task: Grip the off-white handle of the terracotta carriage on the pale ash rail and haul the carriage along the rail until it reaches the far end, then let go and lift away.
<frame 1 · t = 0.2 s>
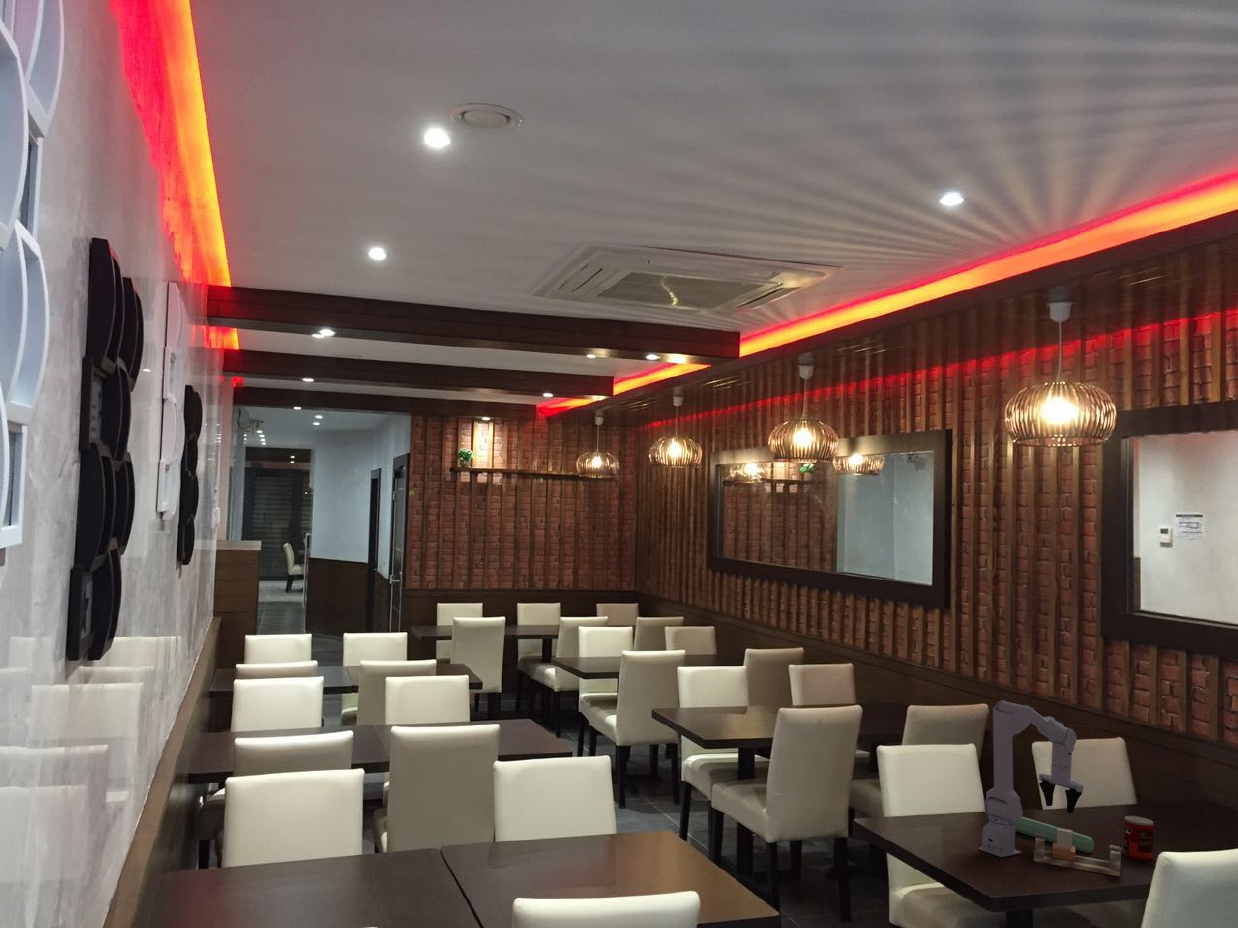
hand: (1059, 809, 319), 10 cm above the table, tool pointing down, fingers open, 7 cm apart
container: (1052, 842, 318), on the table
carriage: (1064, 843, 298), point 5 cm above the table, slide at -1.0 cm
rail: (1067, 862, 297), on the table
canned food: (1137, 856, 308), on the table
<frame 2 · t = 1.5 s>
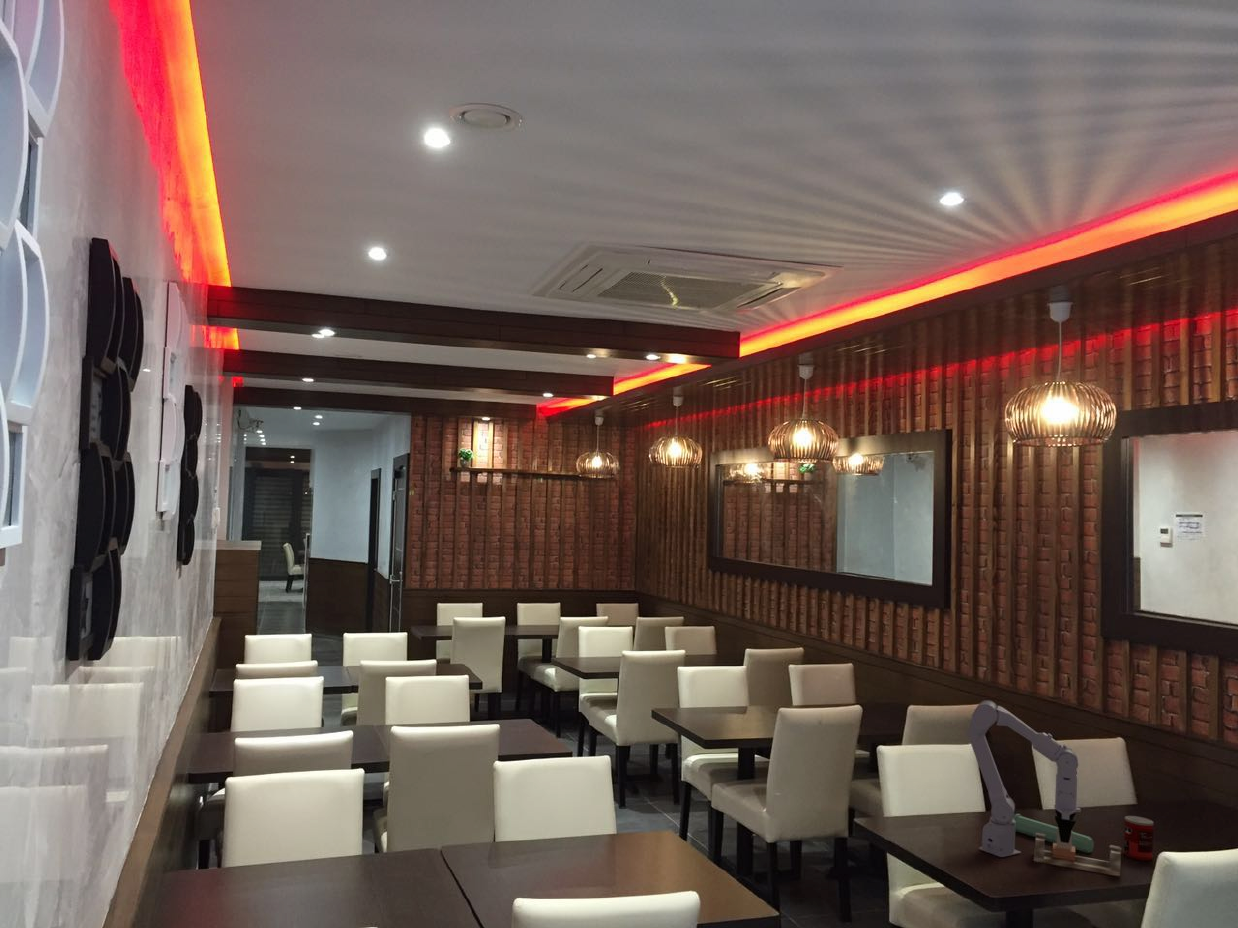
hand: (1064, 838, 298), 7 cm above the table, tool pointing down, fingers open, 7 cm apart
nothing on the table moved.
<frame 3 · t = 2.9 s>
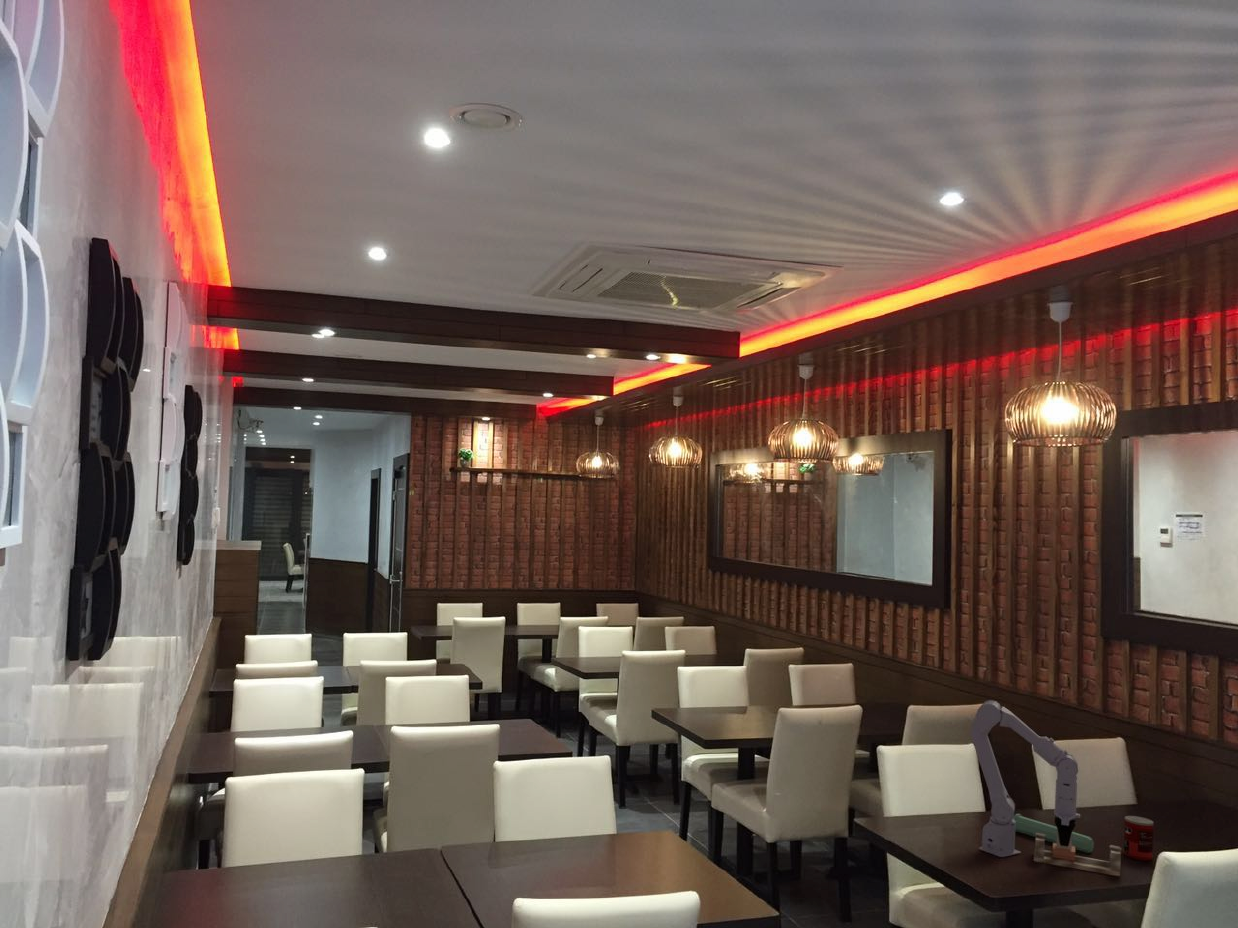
hand: (1064, 844, 298), 5 cm above the table, tool pointing down, fingers closed on carriage, 2 cm apart
carriage: (1064, 843, 298), point 5 cm above the table, slide at -1.0 cm, touching gripper
everything else where it was.
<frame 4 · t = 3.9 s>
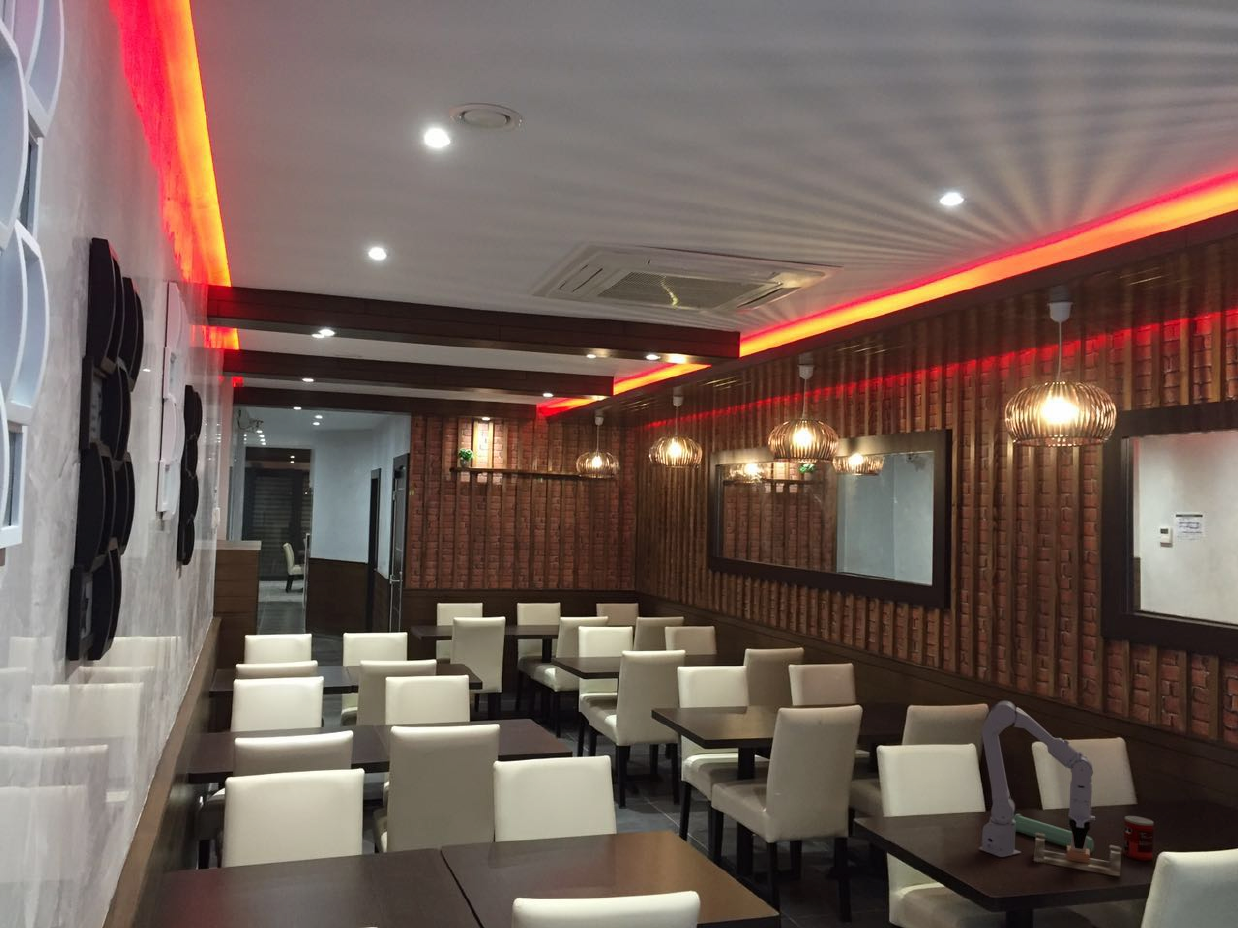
hand: (1078, 846, 297), 5 cm above the table, tool pointing down, fingers closed on carriage, 2 cm apart
carriage: (1078, 845, 297), point 5 cm above the table, slide at 2.8 cm, touching gripper
everything else where it was.
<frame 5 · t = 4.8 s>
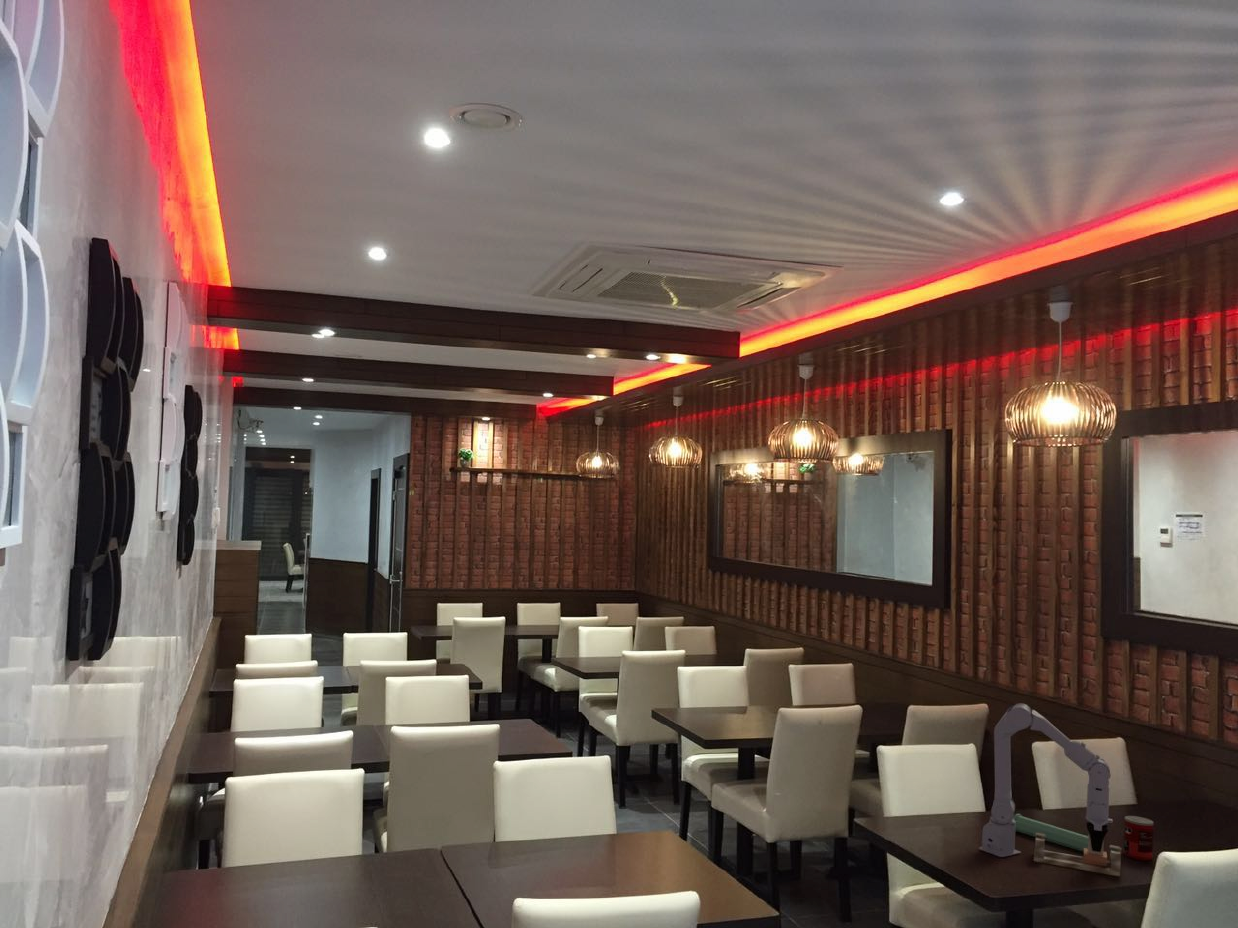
hand: (1096, 849, 295), 5 cm above the table, tool pointing down, fingers closed on carriage, 2 cm apart
carriage: (1095, 848, 295), point 5 cm above the table, slide at 7.3 cm, touching gripper
everything else where it was.
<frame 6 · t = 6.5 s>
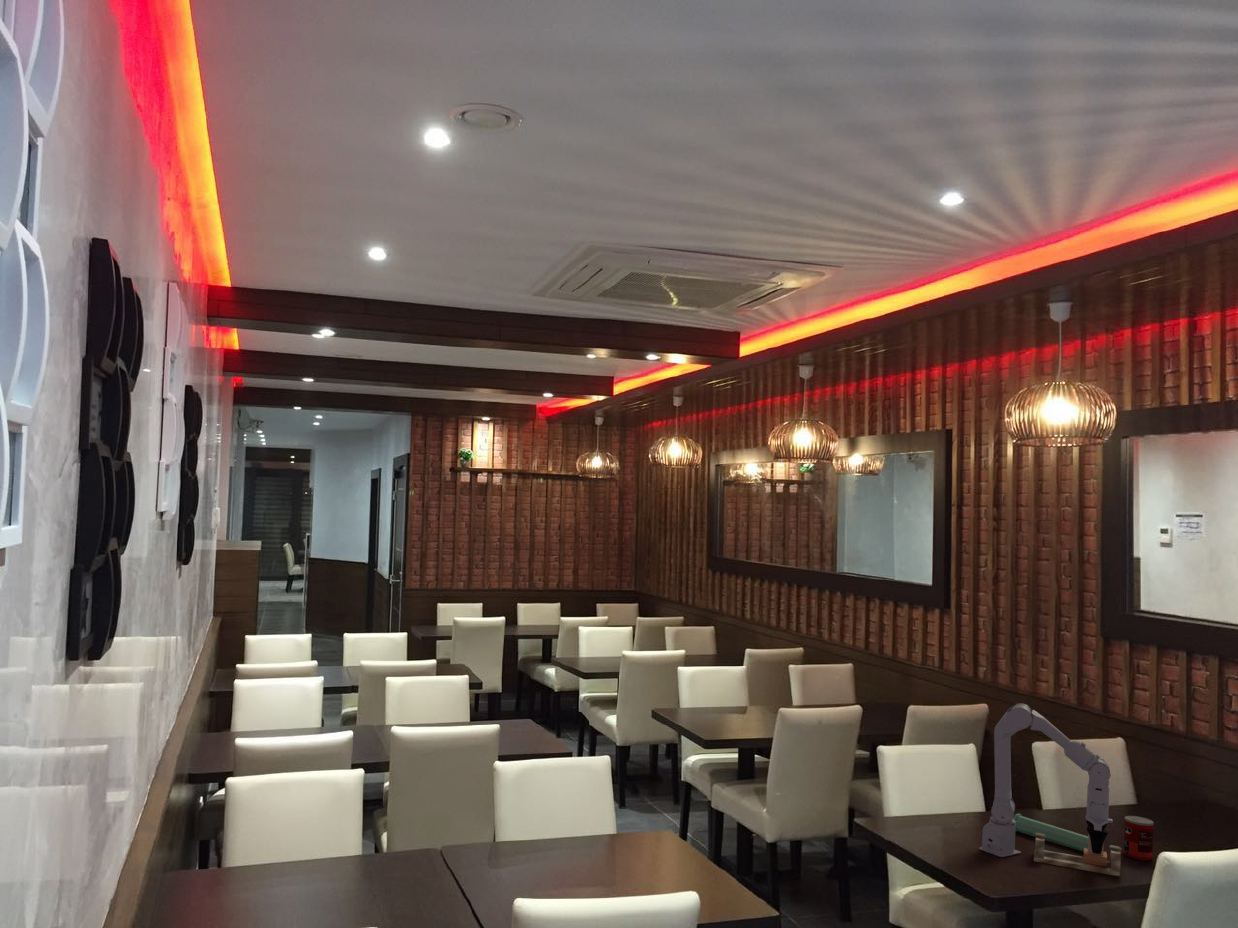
hand: (1096, 849, 295), 5 cm above the table, tool pointing down, fingers open, 7 cm apart
carriage: (1095, 848, 295), point 5 cm above the table, slide at 7.4 cm
everything else where it was.
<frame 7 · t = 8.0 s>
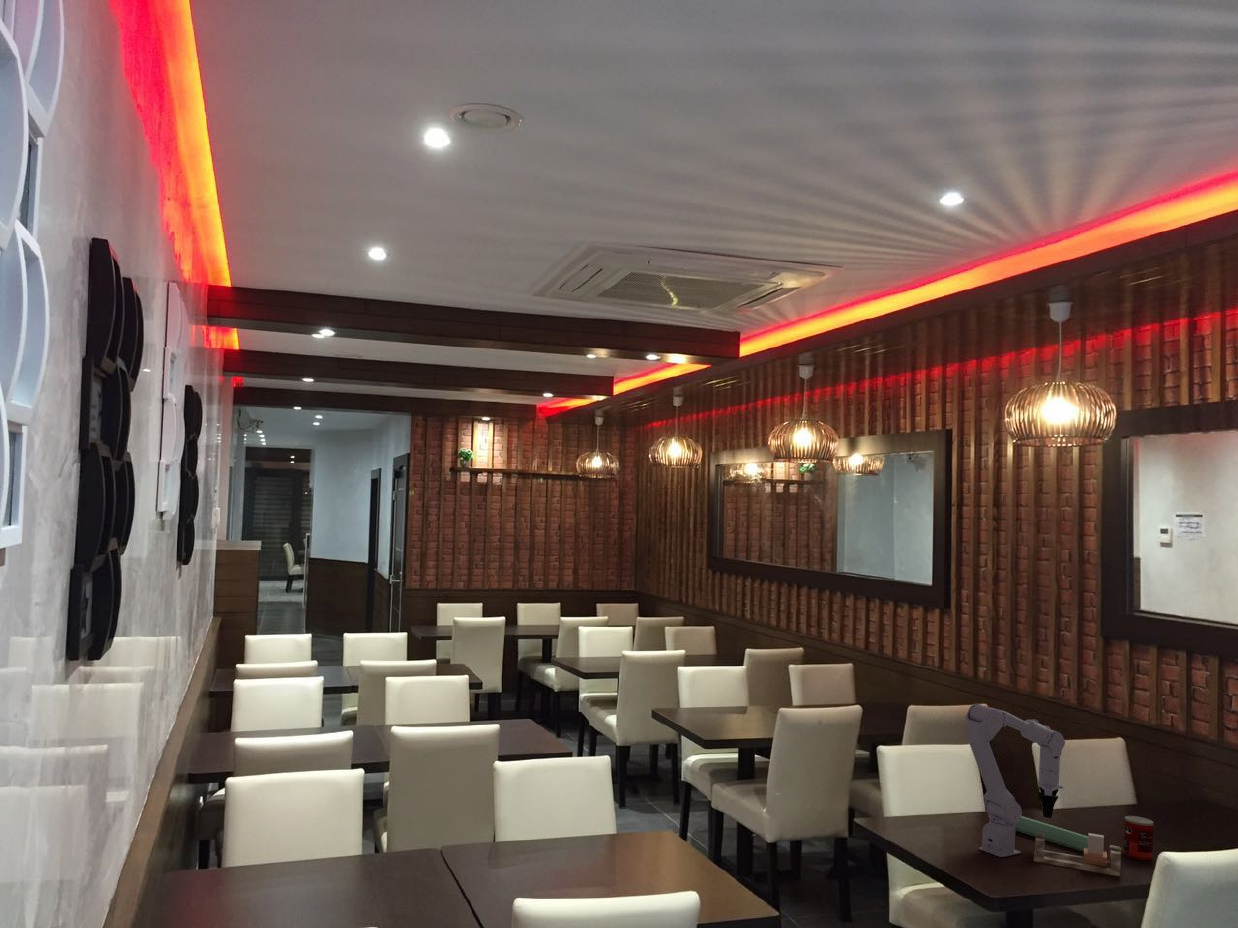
hand: (1047, 814, 310), 10 cm above the table, tool pointing down, fingers open, 7 cm apart
nothing on the table moved.
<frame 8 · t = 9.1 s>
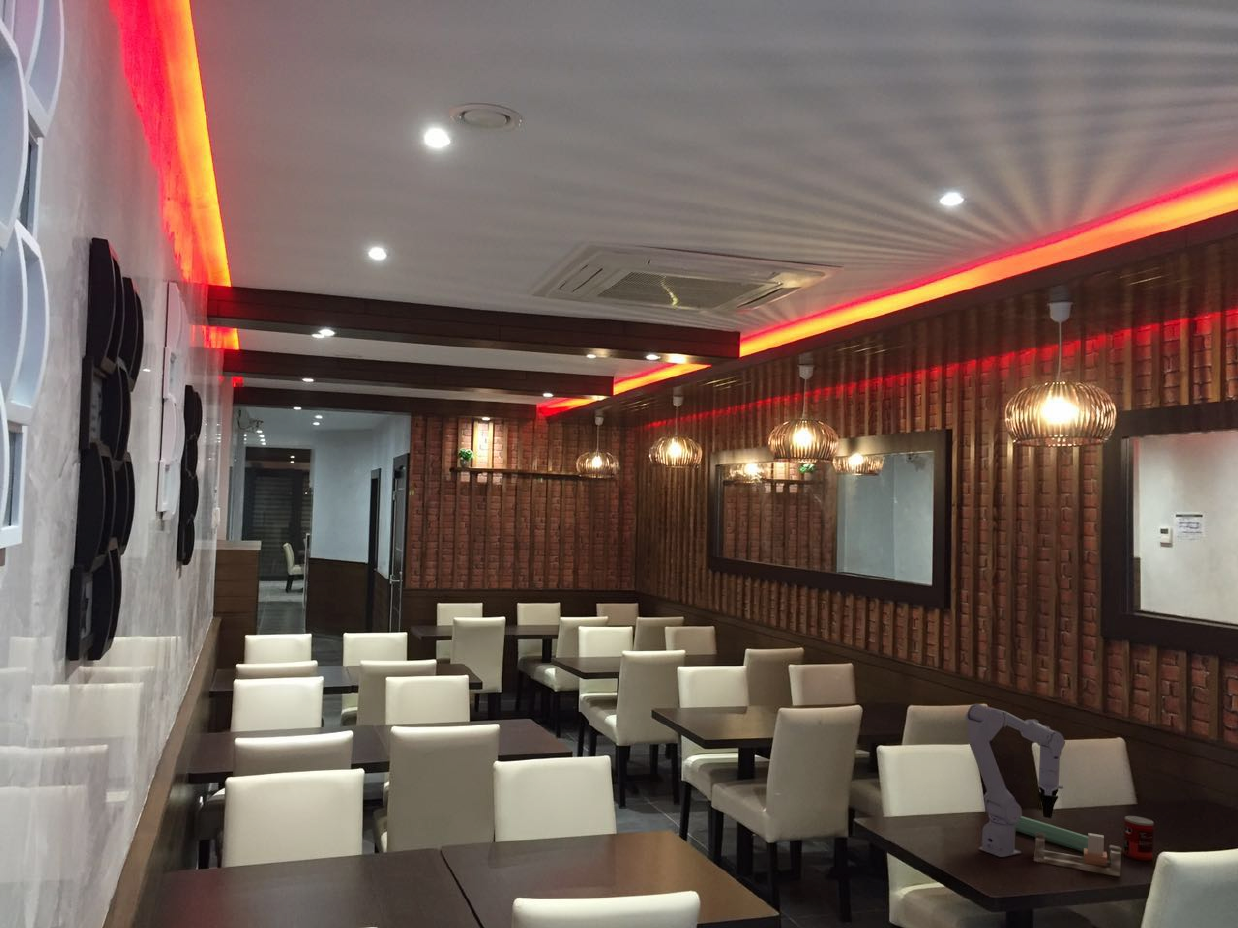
hand: (1047, 814, 310), 10 cm above the table, tool pointing down, fingers open, 7 cm apart
nothing on the table moved.
at the end: carriage slide at 7.4 cm; the gripper is holding nothing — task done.
